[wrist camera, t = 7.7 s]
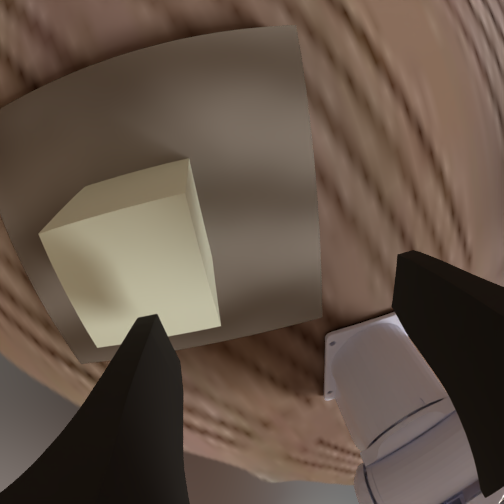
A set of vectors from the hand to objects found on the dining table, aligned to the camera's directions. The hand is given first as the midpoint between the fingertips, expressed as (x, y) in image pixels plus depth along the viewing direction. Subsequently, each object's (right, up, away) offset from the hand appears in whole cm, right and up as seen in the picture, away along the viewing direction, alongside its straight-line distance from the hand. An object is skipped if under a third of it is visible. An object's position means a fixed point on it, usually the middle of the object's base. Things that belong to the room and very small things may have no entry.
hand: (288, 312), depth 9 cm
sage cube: (-6, +3, +5) cm, 8 cm away
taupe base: (-6, +4, +7) cm, 10 cm away
